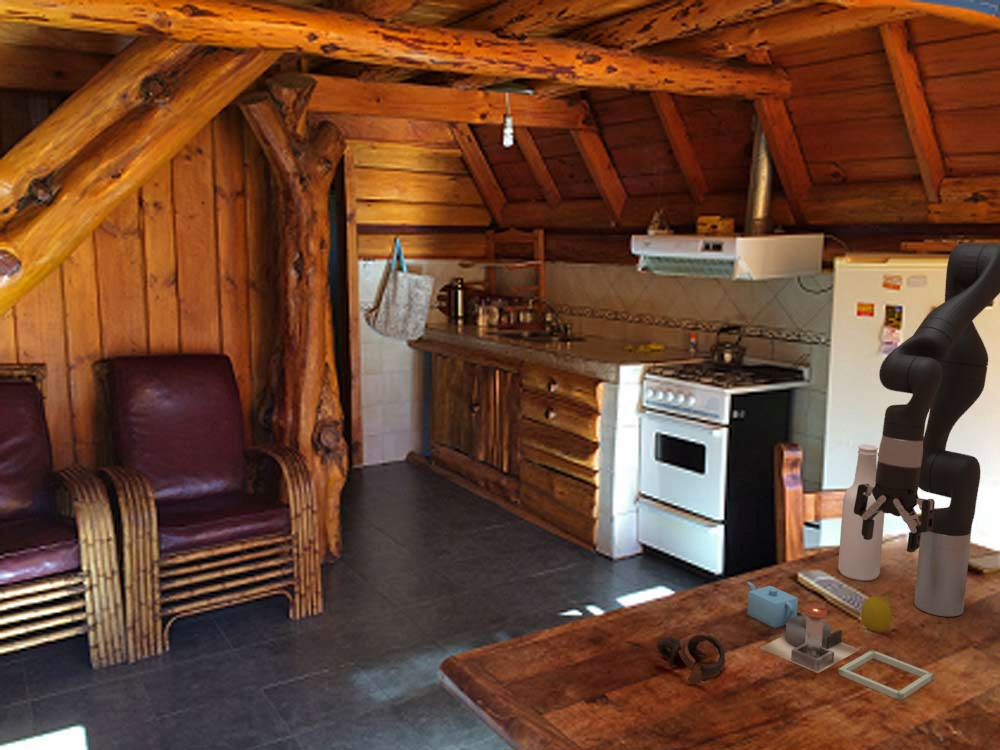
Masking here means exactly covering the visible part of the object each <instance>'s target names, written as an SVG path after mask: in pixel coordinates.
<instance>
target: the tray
mask: <svg viewBox="0 0 1000 750" xmlns="http://www.w3.org/2000/svg"><path fill="white" fill-rule="evenodd" d="M873 659H874V660H876V661H878V662H882V663H885V664H887V665H889V666H892V667H895V668H897V669H900V670H902V671H905V672H907V673H910V674H913V675H915V676H917V677H919V678H918V679H916V680H914V681H913V682H911V683H910V684H908V685H906V686H905V687H904V688H902V689H900V690H896V689H894V688H892V687H889V686H887V685H884V684H882V683H879V682H877V681H875V680H873V679H870V678H867V677H866V676H863V675H860V674H858V673H856V672H853V671H854V670H856V669H858V667H860V666H863V665H864V664H866V663H868V662H869V661H871V660H873ZM837 671H838V673H837V675H838V676H841V677H843V678H846V679H848V680H851V681H853V682H855V683H858V684H860V685H863V686H865V687H866V688H869V689H872V690H873V691H876V692H879V693H880V694H883V695H886V696H888V697H891V698H893V699H896V700H897V701H900V702H902V701H903V700H905V699H906V698H908V697H909V696H910V695H912V694H914V693H915V692H917V691H918V690H920V689H921V688H923V687H924V686H926V685H927V684H929V683H930V682H931V681H933V680H934V674H935V673H933V672H930V671H927V670H924V668H923V669H922V668H919V667H918V666H917V667H916V666H915V665H912V664H910V663H907V662H905V661H901V660H899V659H897V658H895V657H891V656H889V655H886V654H884V653H881V652H878V651H876V650H873V649H871V650H869V651H867V652H865V653H864V654H862V655H860V656H858V657H857V658H854V659H853V660H852V661H850V662H848V663H846V664H844V665H843V666H841V667H839V668H838V670H837Z"/></svg>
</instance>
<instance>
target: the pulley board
mask: <svg viewBox="0 0 1000 750" xmlns="http://www.w3.org/2000/svg"><path fill="white" fill-rule="evenodd" d="M806 620H807V616H806V615H805V614H804V613H802V614H800V615H799V616H798V615H797V617H793V618H790V619H788V620H787V621H786V625H785V635H783V636H781V637H778V638H776V639H774V640H772V641H769V642H768V643H766V644H764V645H762V646H760V647H759V649H760V650H763V651H766V652H768V653H770V654H772V655H774V656H777V657H779V658H782V659H784V660H786V661H789V662H790V663H793V664H795V665H797V666H800V667H801V668H804V669H808V670H810V671H812V672H813V673H816V674H819V673H821V672H823V671H825V670H827V669H829V668H831V667H832V666H834V665H836V664H837V663H839V662H841V661H843V660H845V659H846V658H847V657H848V658H849V657H850V656H851V655H853V654H855V653H857V652H858V651H859V652H860V651H861V649H860V648H858V647H855V646H852V645H850V644H847V643H845V642H842V637H843V629H837V630H836V631H835V630H834V631H833V632H832V627H831V625H830V624H829V623H828V622H826V621H824V620H823V633H822V648H821V656H820V657H819V658H814V657H812V656H810V655H807V654H805V653H804V651H805V636H806Z"/></svg>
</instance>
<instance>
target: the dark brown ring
mask: <svg viewBox="0 0 1000 750" xmlns="http://www.w3.org/2000/svg"><path fill="white" fill-rule="evenodd" d="M706 641H707V642H710V643H711V644H712V646H713V647H715V648H716V649H717V651H718V653H719V658H718V660H717V661H715V662H714V663H711V664H710V663H707V664H706V663H701V665H700V667H699V666H697V665H696V661H697V660H696V659H695V658H694V657H693V656H692V655H691V654H696V655H702V656H706V655H707V652H705V651H704V650H701V648H698V645H699V644H700V643H703V642H706ZM656 647H657V650H658V653H659V654H660V656H662V657H663V658H664V659H666V660H667V662H668V663H669V665H670V667H673V666H674V661H675V658H677V657H680V659H681V660H682V661H683V663H684V665H685V666H686V667H687V669H689V671H691V672H690V675H689V676H688V677H687V682H688V683H690V684H692V685H693V684H697V685H698V684H700V682H706V681H707V679H714V678H716V677H718V676H719V675H721V672H722V671H723V670H724V667H725V664H726V653H725V650H724V647H723V645H722V643H721V642H720V641H719V640H718V639H717V638H715V637H714V636H713V635H711V634H708V633H706V632H705V633H704V632H693V633H691V634H689V635H687V636H684V637H683V638H680V639H677V638H674V637H672V636H663V637H661V638H660V639H659V640H658V641H657V642H656Z"/></svg>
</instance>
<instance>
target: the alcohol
mask: <svg viewBox="0 0 1000 750" xmlns="http://www.w3.org/2000/svg"><path fill="white" fill-rule="evenodd" d="M878 449H879V448H878V447H877V446H876V445H874V444H867V443H865V444H864V443H863V444H860V445H859V446H858V450H857V454H858V456H857V462H856V468H855V473H854V479H853V480H854V481H853V483H852V485H851V486H850V487H848V488H847V490H845V492H844V495H843V498H842V506H841V507H842V509H841V522H840V523H841V524H840V534H839V535H840V536H839V537H840V539H839V549H838V550H839V552H838V565H837V567H838V568H837V569H838V571H839V573H840V574H841V575H842V576H843V577H845V578H848V579H851V580H853V581H862V582H869V581H874V580H876V579H877V578H878V577H879V575H881V564H882V563H881V561H882V549H883V548H882V547H883V537H884V536H883V534H884V522H885V513H883V512H882V511H881V512H879V513H878V514H877V515H876V516H875V517H874V518H873V520H875V521H874V529H873V537H872V539H870V540H865V539H864V538H863V536H862V533H861V532H862V524H863V519H862V517H861V516H859V515H856V514H855V513H854V506H855V500H856V495H857V489H858V486H859V485H861V484H869V485H870V486H872V487H875V484H876V482H875V478H876V470H877V462H878V451H879V450H878ZM875 502H876V500H875V498H874V496H873V494H872V493H871V495H870V496H868V502H867V507H866V510H868V508H869V507H870V506H871V505H872V504H873V503H875Z"/></svg>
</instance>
